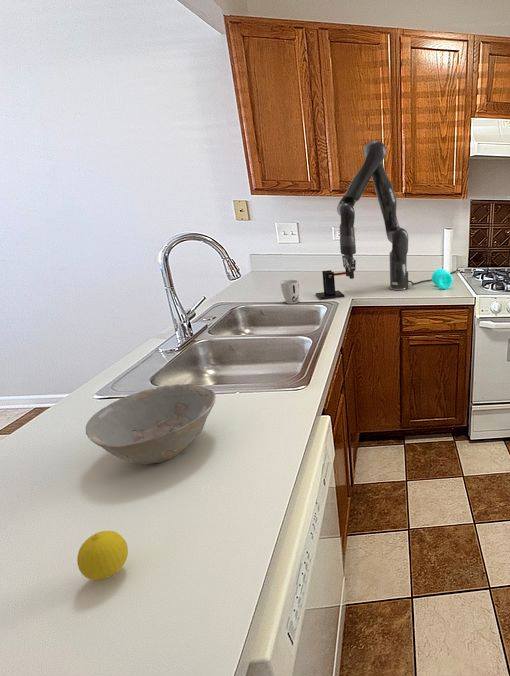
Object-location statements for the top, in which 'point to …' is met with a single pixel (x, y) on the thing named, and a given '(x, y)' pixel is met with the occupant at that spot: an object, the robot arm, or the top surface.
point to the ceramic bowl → (152, 422)
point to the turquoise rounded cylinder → (440, 282)
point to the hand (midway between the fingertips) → (349, 277)
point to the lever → (341, 273)
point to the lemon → (102, 555)
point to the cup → (290, 291)
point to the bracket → (329, 287)
